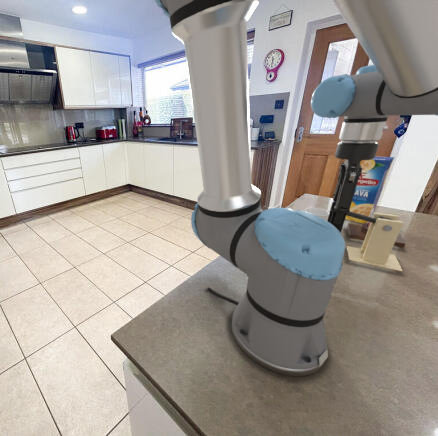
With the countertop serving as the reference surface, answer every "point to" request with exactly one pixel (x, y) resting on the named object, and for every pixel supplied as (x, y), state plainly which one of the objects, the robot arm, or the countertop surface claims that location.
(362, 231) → the control block
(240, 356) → the countertop surface
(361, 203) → the beverage box
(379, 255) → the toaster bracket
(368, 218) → the lever
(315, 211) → the teacup
